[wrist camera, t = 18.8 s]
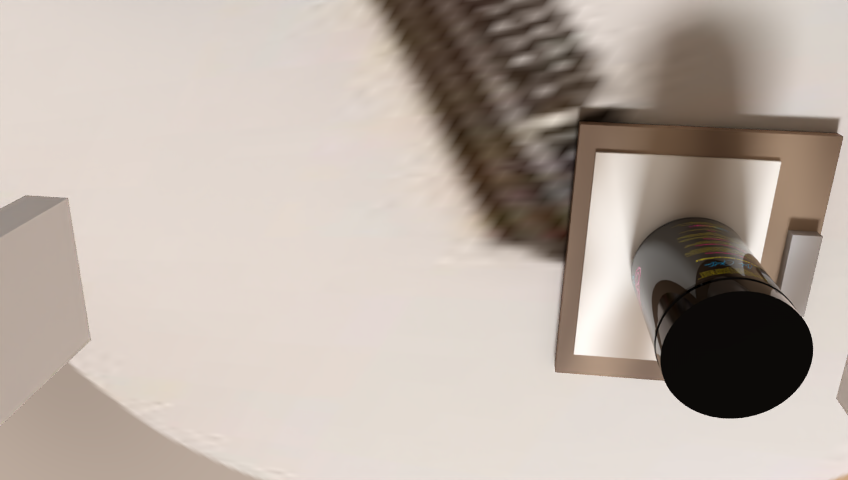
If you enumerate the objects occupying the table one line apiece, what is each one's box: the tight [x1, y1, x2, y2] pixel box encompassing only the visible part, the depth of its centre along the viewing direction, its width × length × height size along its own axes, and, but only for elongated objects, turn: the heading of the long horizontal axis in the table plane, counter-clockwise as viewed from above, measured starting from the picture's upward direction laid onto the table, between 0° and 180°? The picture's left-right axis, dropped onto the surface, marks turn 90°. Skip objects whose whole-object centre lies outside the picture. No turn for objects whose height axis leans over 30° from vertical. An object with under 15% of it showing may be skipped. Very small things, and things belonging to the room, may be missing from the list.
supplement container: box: [631, 217, 813, 418], centre depth 39 cm, size 7×7×10 cm
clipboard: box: [555, 121, 843, 381], centre depth 44 cm, size 14×16×2 cm
